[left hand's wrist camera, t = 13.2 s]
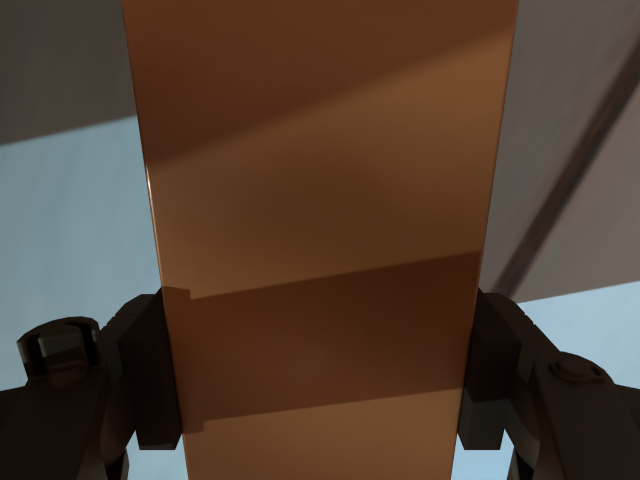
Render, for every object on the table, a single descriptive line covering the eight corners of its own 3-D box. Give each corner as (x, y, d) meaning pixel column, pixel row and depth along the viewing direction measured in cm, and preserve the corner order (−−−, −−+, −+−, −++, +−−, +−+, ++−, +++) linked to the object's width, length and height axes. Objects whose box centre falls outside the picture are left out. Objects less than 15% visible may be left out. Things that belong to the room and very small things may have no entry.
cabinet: (226, -158, 13) (9, -767, 4) (413, -158, 13) (632, -766, 4) (255, 333, 19) (195, 546, 10) (383, 333, 19) (442, 546, 10)
